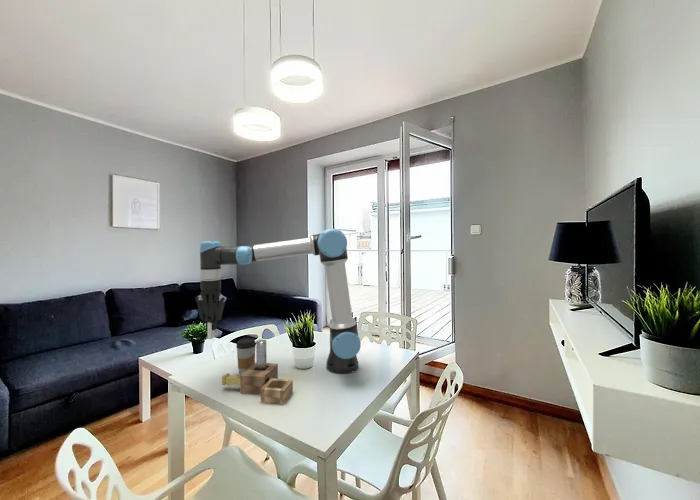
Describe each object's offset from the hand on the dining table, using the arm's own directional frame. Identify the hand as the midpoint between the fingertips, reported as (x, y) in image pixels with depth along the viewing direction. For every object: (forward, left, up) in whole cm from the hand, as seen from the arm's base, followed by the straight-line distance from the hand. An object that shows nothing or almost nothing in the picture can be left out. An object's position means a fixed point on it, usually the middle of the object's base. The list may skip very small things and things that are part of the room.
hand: (211, 337), depth 119 cm
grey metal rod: (-19, -6, -20) cm, 28 cm away
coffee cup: (-7, -14, -21) cm, 26 cm away
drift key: (-12, 0, -18) cm, 22 cm away
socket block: (-19, -4, -20) cm, 28 cm away
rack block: (-29, +3, -20) cm, 36 cm away
